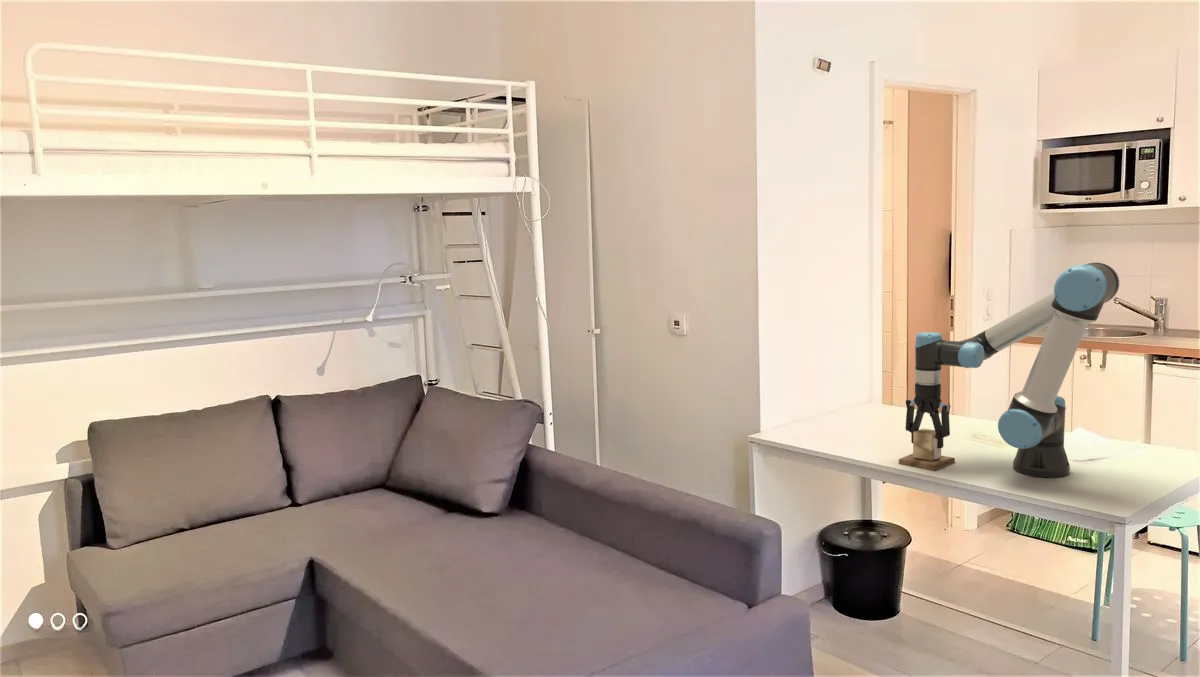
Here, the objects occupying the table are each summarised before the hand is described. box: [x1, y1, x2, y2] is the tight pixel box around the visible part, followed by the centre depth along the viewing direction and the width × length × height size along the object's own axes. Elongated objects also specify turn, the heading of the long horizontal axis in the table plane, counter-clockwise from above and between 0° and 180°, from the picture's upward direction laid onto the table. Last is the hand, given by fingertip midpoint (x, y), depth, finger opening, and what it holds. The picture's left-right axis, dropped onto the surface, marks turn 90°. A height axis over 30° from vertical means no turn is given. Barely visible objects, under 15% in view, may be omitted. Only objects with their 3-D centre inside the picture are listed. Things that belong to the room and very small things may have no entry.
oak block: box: [912, 428, 937, 461], centre depth 273 cm, size 6×6×8 cm
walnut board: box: [898, 453, 956, 472], centre depth 273 cm, size 12×12×2 cm
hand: (927, 455), depth 273 cm, fingers closed on oak block, 6 cm apart
